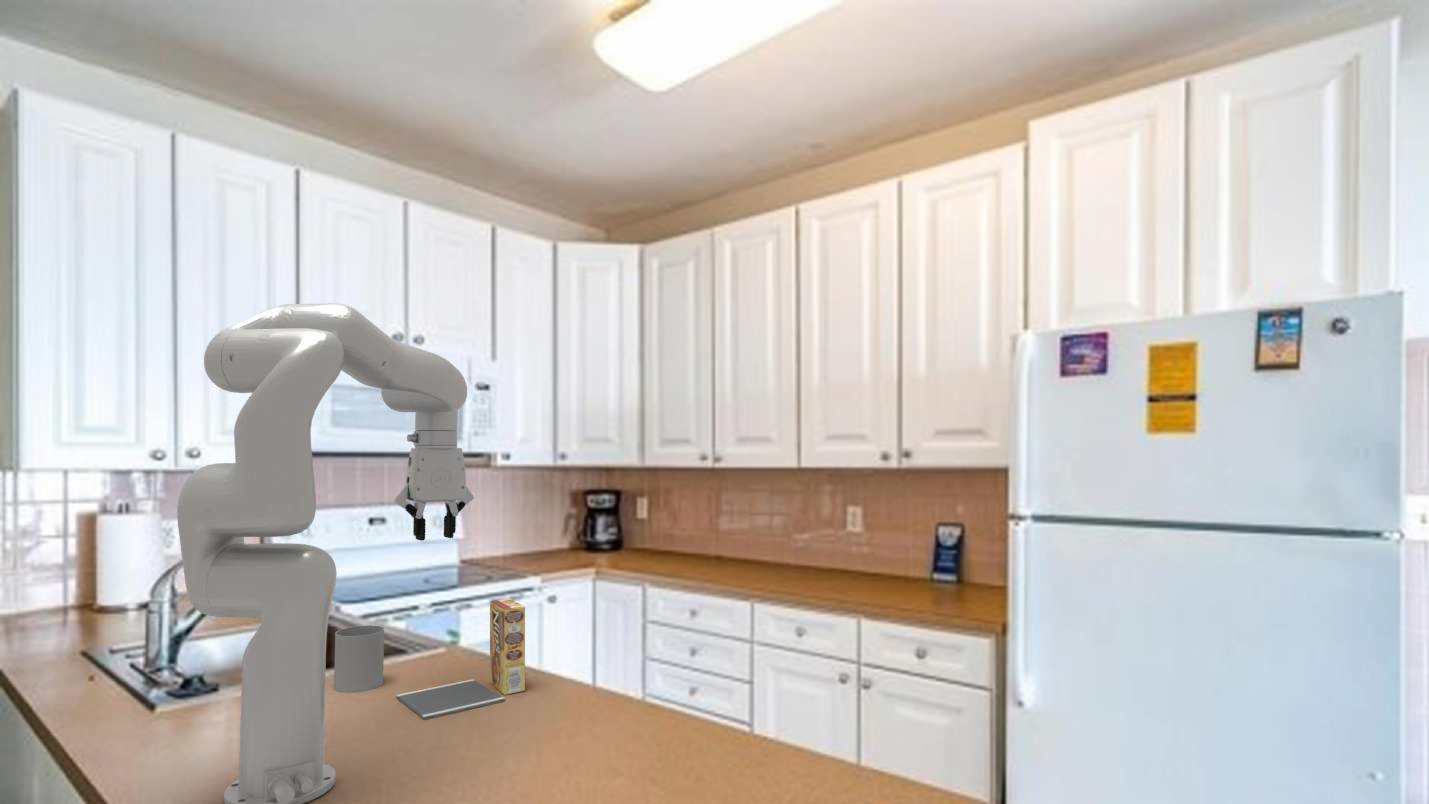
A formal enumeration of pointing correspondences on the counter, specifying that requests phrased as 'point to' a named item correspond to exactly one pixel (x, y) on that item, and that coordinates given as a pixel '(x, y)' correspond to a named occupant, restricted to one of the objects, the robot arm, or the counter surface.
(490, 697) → the mat
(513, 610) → the candy box
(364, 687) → the cup
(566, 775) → the counter surface
